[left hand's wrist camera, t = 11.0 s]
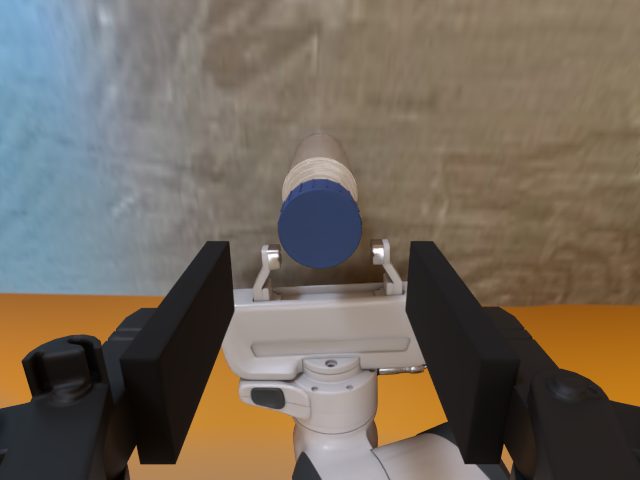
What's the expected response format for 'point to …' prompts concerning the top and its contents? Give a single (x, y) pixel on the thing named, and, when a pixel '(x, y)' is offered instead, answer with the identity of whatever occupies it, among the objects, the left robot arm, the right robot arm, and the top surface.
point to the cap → (320, 224)
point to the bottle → (320, 165)
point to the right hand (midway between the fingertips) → (325, 244)
